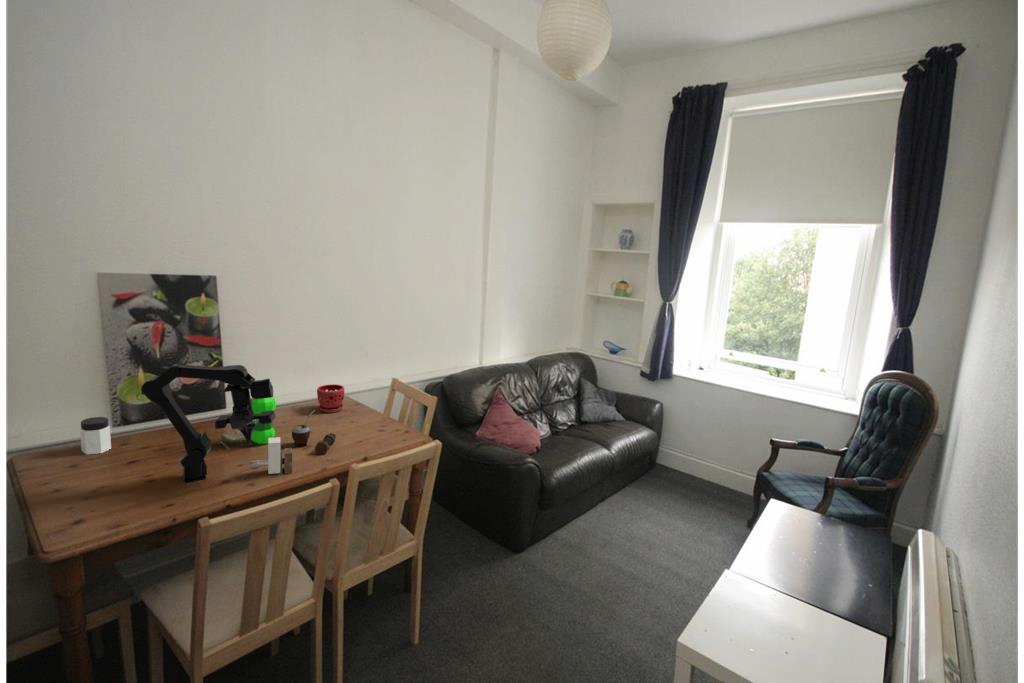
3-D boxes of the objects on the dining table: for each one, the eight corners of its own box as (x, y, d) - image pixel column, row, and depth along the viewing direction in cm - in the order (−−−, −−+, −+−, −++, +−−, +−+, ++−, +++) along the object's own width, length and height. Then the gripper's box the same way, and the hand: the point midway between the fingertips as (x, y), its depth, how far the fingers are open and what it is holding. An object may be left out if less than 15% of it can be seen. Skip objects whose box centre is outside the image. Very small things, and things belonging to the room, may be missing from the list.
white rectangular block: (268, 474, 188) (268, 443, 185) (268, 468, 192) (268, 437, 190) (282, 472, 189) (282, 442, 187) (281, 466, 194) (281, 436, 192)
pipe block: (276, 474, 189) (276, 454, 187) (276, 468, 193) (276, 449, 192) (292, 473, 191) (292, 453, 190) (291, 467, 196) (291, 447, 194)
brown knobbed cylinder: (333, 444, 224) (323, 457, 210) (323, 438, 224) (312, 451, 209) (340, 434, 224) (330, 446, 209) (330, 427, 223) (319, 439, 208)
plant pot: (338, 404, 270) (338, 382, 268) (348, 411, 260) (348, 389, 258) (313, 407, 262) (313, 385, 259) (322, 415, 252) (322, 392, 250)
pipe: (250, 469, 186) (250, 462, 185) (250, 465, 188) (250, 459, 188) (286, 465, 191) (286, 459, 190) (285, 462, 193) (285, 456, 193)
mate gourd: (288, 446, 214) (288, 412, 211) (300, 439, 221) (301, 406, 219) (302, 449, 212) (303, 415, 209) (315, 443, 219) (315, 409, 216)
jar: (78, 455, 190) (76, 425, 188) (84, 447, 197) (82, 417, 195) (108, 453, 194) (106, 423, 192) (113, 445, 201) (111, 416, 199)
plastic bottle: (244, 445, 210) (243, 387, 206) (256, 436, 221) (255, 380, 216) (269, 447, 211) (268, 389, 206) (279, 438, 221) (279, 382, 216)
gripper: (204, 412, 172) (213, 454, 176) (263, 406, 175) (270, 448, 179) (216, 400, 182) (224, 440, 186) (272, 395, 185) (278, 434, 189)
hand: (249, 441), depth 185 cm, fingers closed
